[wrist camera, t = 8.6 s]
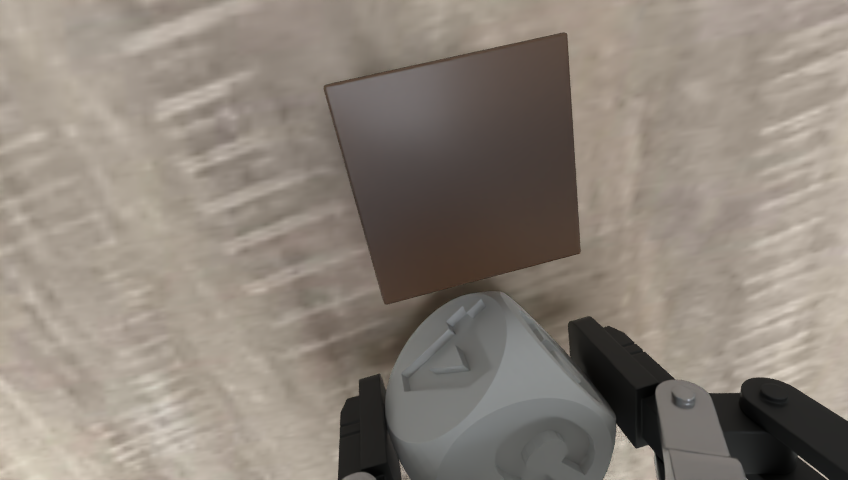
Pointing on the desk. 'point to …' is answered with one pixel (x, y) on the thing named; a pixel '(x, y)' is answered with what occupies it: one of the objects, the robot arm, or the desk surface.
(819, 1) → the desk surface
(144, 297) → the desk surface
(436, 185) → the row of mixed cubes
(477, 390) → the die
